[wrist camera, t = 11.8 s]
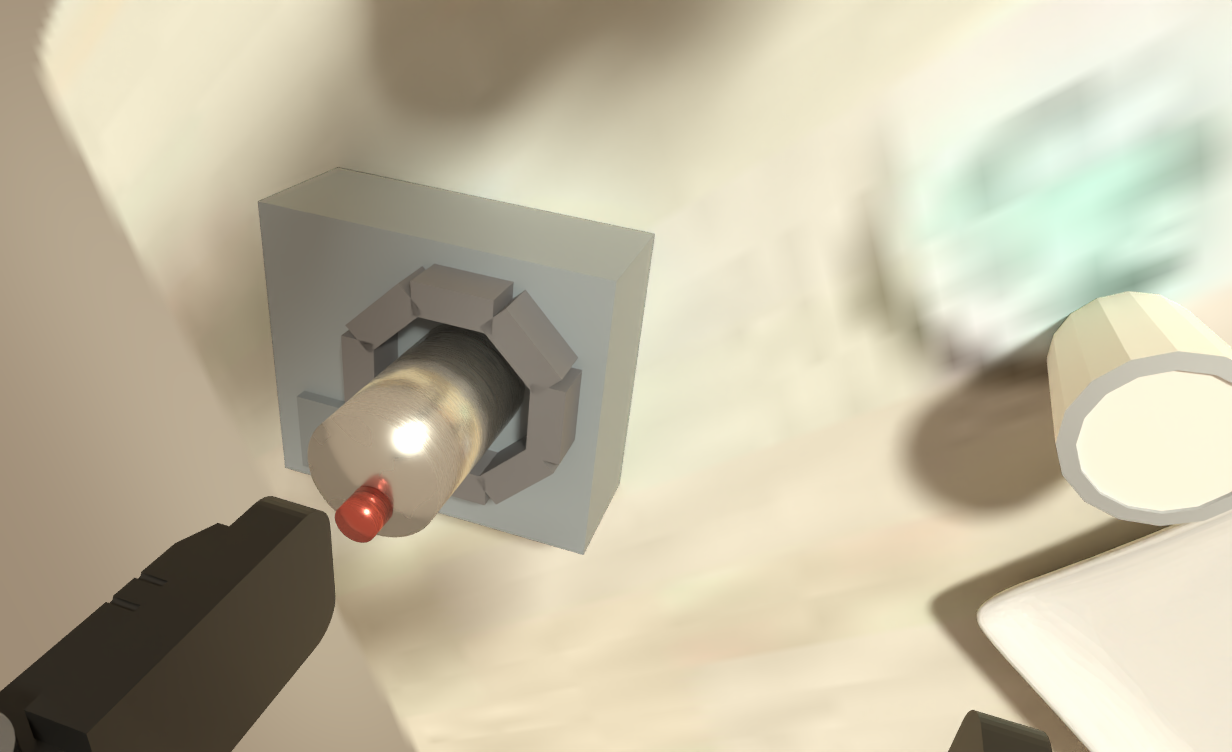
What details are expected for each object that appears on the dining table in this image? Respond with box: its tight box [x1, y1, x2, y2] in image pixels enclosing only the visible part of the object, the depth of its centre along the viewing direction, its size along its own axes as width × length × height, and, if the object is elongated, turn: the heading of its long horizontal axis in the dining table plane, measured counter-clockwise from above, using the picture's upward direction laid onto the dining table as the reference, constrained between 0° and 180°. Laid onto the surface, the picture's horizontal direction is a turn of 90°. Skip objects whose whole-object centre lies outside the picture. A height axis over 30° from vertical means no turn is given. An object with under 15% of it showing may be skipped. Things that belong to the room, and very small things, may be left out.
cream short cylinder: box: [1047, 291, 1232, 526], centre depth 31 cm, size 7×7×7 cm
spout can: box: [308, 324, 525, 543], centre depth 33 cm, size 5×5×9 cm
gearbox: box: [258, 167, 655, 555], centre depth 40 cm, size 17×16×8 cm
